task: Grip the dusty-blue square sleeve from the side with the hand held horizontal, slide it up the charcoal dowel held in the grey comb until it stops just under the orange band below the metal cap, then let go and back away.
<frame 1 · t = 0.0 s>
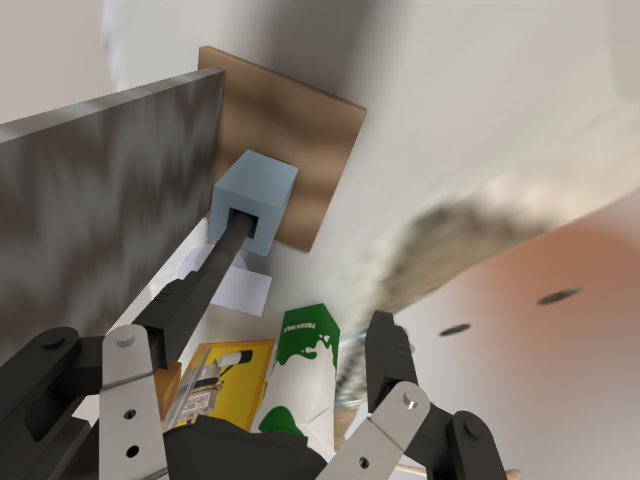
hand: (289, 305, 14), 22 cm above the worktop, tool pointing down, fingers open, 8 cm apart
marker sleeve: (256, 200, 27), point 8 cm above the worktop, slide at 0.0 cm
milk carton: (313, 320, 50), on the worktop
wedge on round base: (232, 269, 45), on the worktop
cord stand: (277, 164, 34), on the worktop
packaging box: (251, 364, 61), on the worktop
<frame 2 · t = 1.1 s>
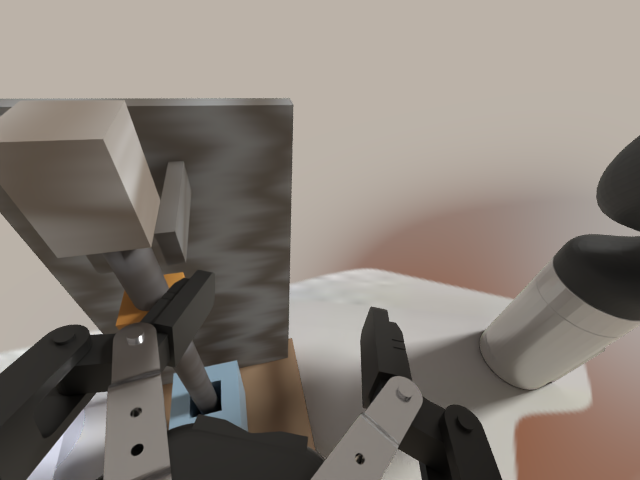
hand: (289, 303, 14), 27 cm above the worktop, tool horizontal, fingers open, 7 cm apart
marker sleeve: (213, 413, 26), point 8 cm above the worktop, slide at 0.0 cm
wedge on round base: (28, 461, 30), on the worktop
cord stand: (226, 437, 32), on the worktop
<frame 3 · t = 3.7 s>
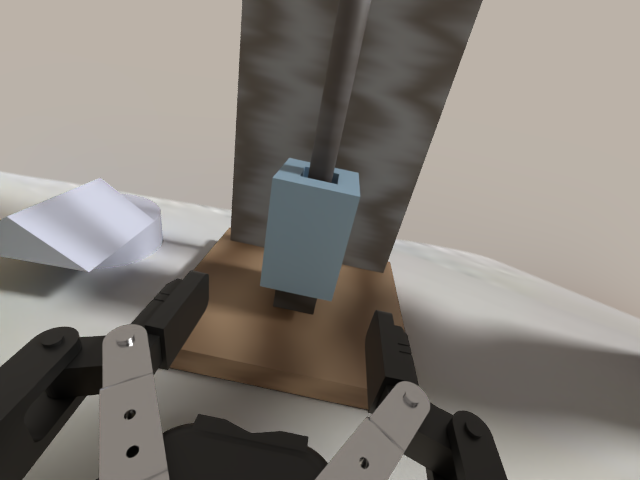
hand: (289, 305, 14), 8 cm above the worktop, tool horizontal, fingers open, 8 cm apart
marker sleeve: (310, 228, 21), point 8 cm above the worktop, slide at 0.0 cm
wedge on round base: (97, 254, 28), on the worktop
cord stand: (292, 315, 25), on the worktop
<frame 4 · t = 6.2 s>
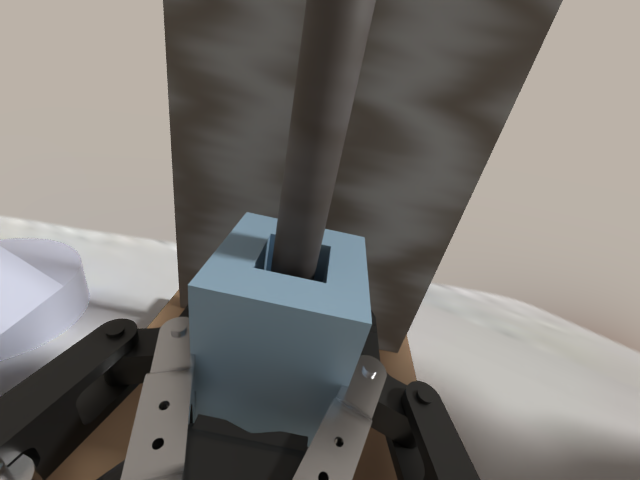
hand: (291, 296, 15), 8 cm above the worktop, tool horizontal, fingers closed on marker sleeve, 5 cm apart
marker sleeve: (281, 335, 12), point 8 cm above the worktop, slide at 0.0 cm, touching gripper
cord stand: (262, 441, 16), on the worktop
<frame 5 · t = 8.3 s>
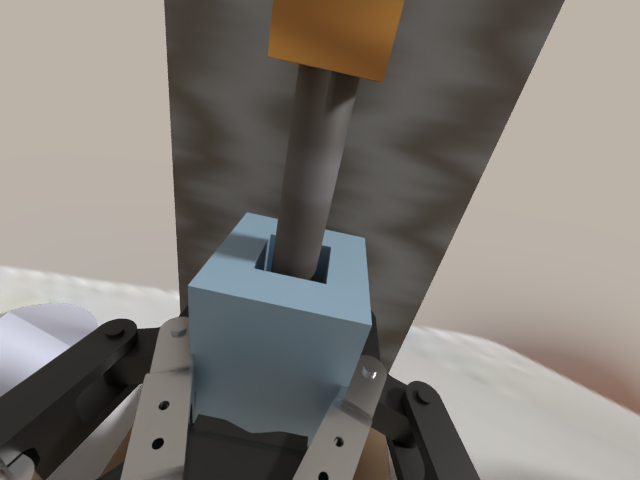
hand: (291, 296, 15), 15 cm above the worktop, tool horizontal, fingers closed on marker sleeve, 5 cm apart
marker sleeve: (281, 335, 12), point 15 cm above the worktop, slide at 6.7 cm, touching gripper
wedge on round base: (12, 398, 22), on the worktop
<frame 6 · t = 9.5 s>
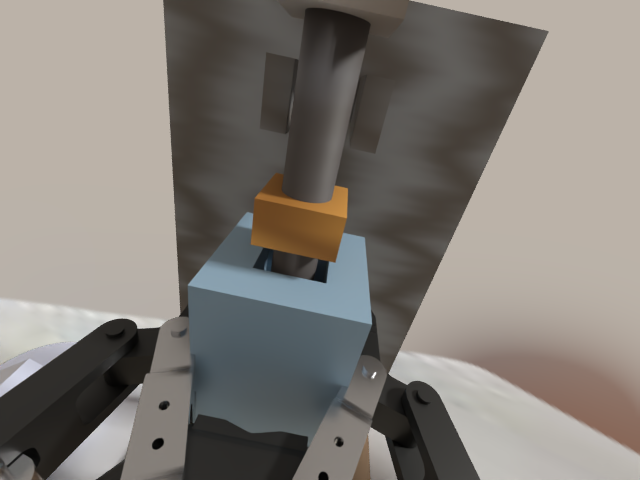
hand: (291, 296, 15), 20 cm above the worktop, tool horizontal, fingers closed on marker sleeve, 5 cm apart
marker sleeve: (281, 335, 12), point 20 cm above the worktop, slide at 11.6 cm, touching gripper
wedge on round base: (31, 433, 24), on the worktop
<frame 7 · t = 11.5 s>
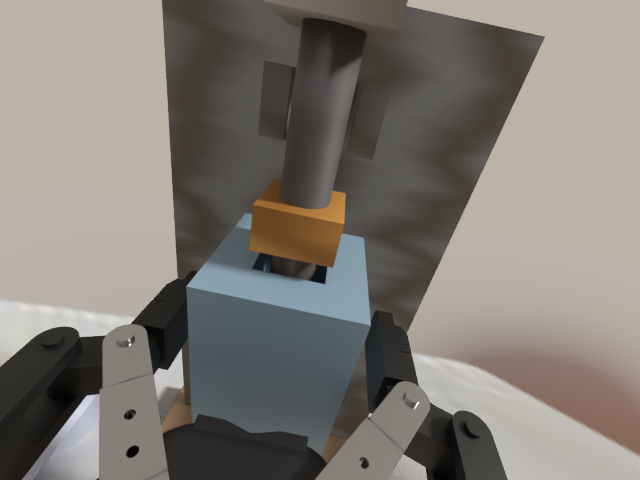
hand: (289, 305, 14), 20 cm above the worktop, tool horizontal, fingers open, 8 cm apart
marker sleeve: (280, 336, 12), point 20 cm above the worktop, slide at 11.8 cm
wedge on round base: (31, 435, 24), on the worktop
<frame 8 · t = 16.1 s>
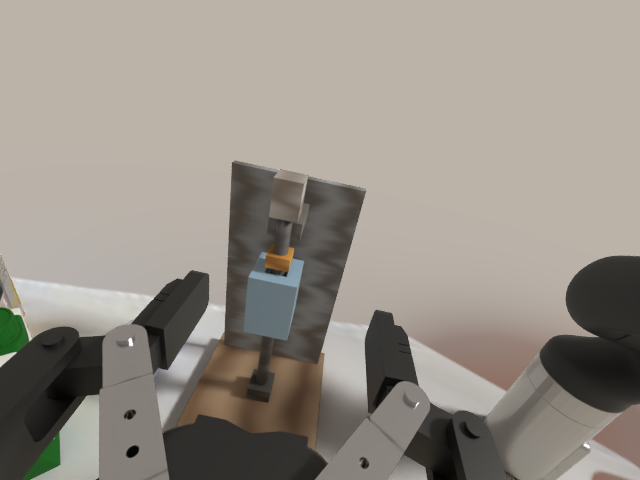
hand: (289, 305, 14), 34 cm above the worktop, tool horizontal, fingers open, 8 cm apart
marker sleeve: (274, 295, 35), point 20 cm above the worktop, slide at 11.8 cm
milk carton: (18, 456, 34), on the worktop
cord stand: (259, 398, 44), on the worktop
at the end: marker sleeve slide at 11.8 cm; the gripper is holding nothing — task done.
